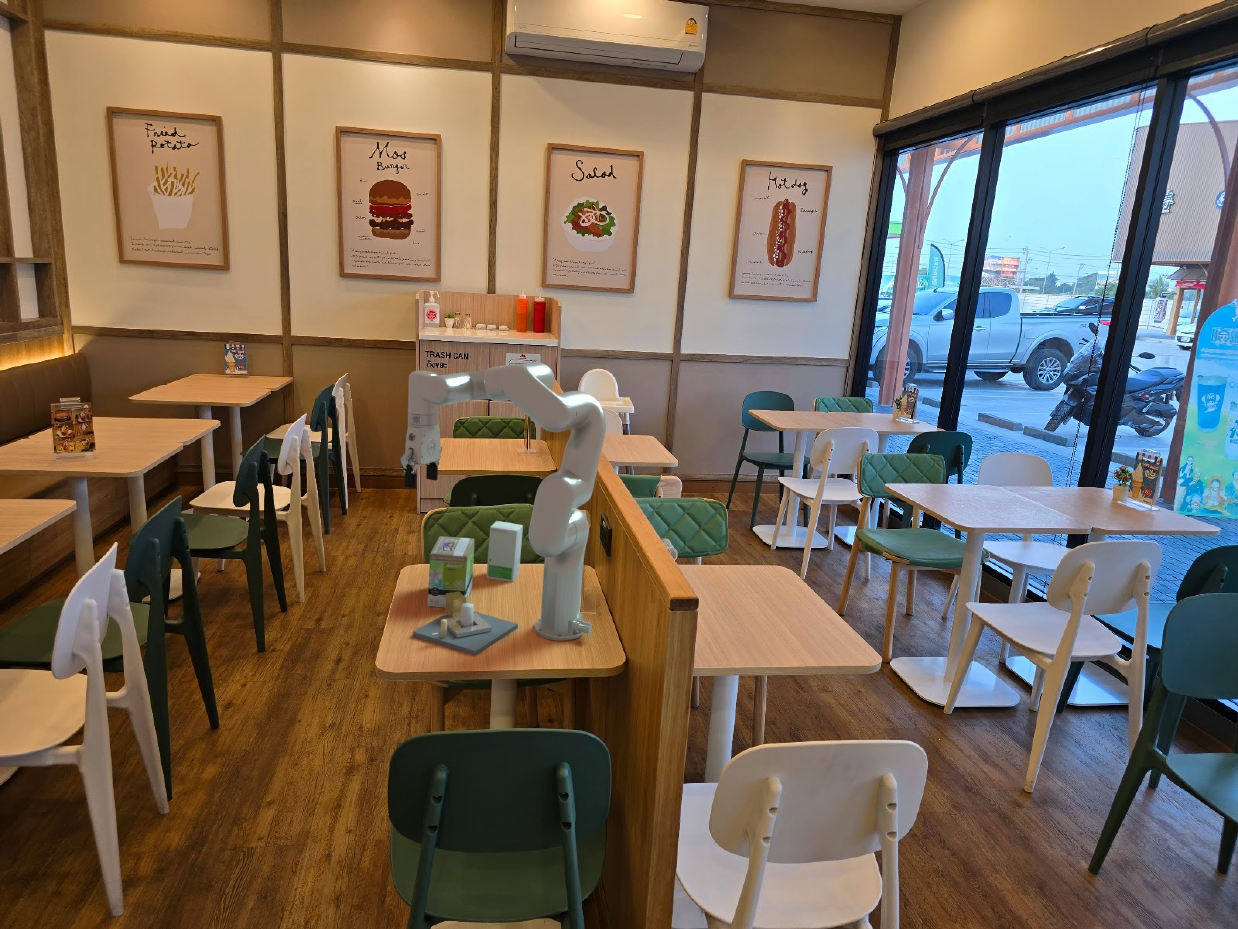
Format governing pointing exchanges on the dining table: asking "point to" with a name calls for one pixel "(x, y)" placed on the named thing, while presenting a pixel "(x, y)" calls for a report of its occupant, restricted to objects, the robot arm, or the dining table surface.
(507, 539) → the skincare box
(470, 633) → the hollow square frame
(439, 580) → the tea box
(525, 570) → the dining table surface
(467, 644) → the post board
